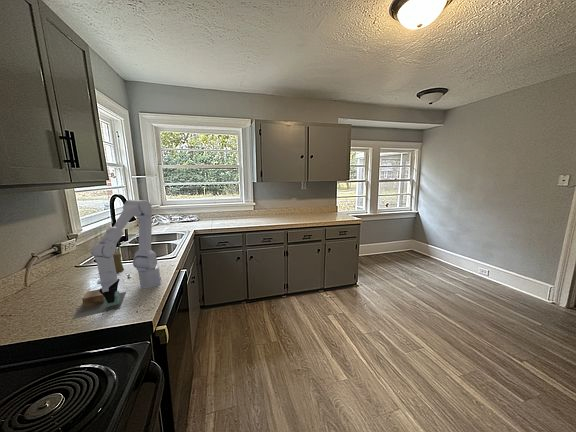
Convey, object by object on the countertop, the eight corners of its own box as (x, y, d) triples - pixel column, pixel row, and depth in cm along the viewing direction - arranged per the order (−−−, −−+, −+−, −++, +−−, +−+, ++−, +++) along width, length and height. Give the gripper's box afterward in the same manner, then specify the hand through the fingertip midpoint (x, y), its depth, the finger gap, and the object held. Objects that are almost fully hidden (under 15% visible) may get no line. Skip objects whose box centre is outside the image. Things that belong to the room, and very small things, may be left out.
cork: (113, 269, 143) (110, 252, 141) (125, 268, 145) (122, 251, 143) (110, 274, 138) (107, 255, 135) (122, 272, 140) (119, 254, 137)
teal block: (120, 298, 107) (118, 290, 107) (118, 303, 103) (116, 295, 103) (108, 301, 106) (106, 293, 105) (105, 306, 102) (103, 298, 101)
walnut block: (107, 295, 113) (105, 288, 112) (103, 303, 107) (102, 295, 106) (88, 299, 110) (87, 291, 109) (83, 307, 104) (82, 298, 103)
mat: (126, 292, 117) (126, 291, 117) (119, 309, 102) (119, 308, 102) (85, 300, 110) (85, 299, 110) (72, 320, 96) (71, 319, 96)
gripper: (100, 265, 106) (105, 293, 109) (90, 279, 93) (96, 310, 96) (119, 262, 109) (124, 290, 112) (111, 275, 96) (117, 306, 99)
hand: (112, 299), depth 104 cm, fingers closed on teal block, 4 cm apart
